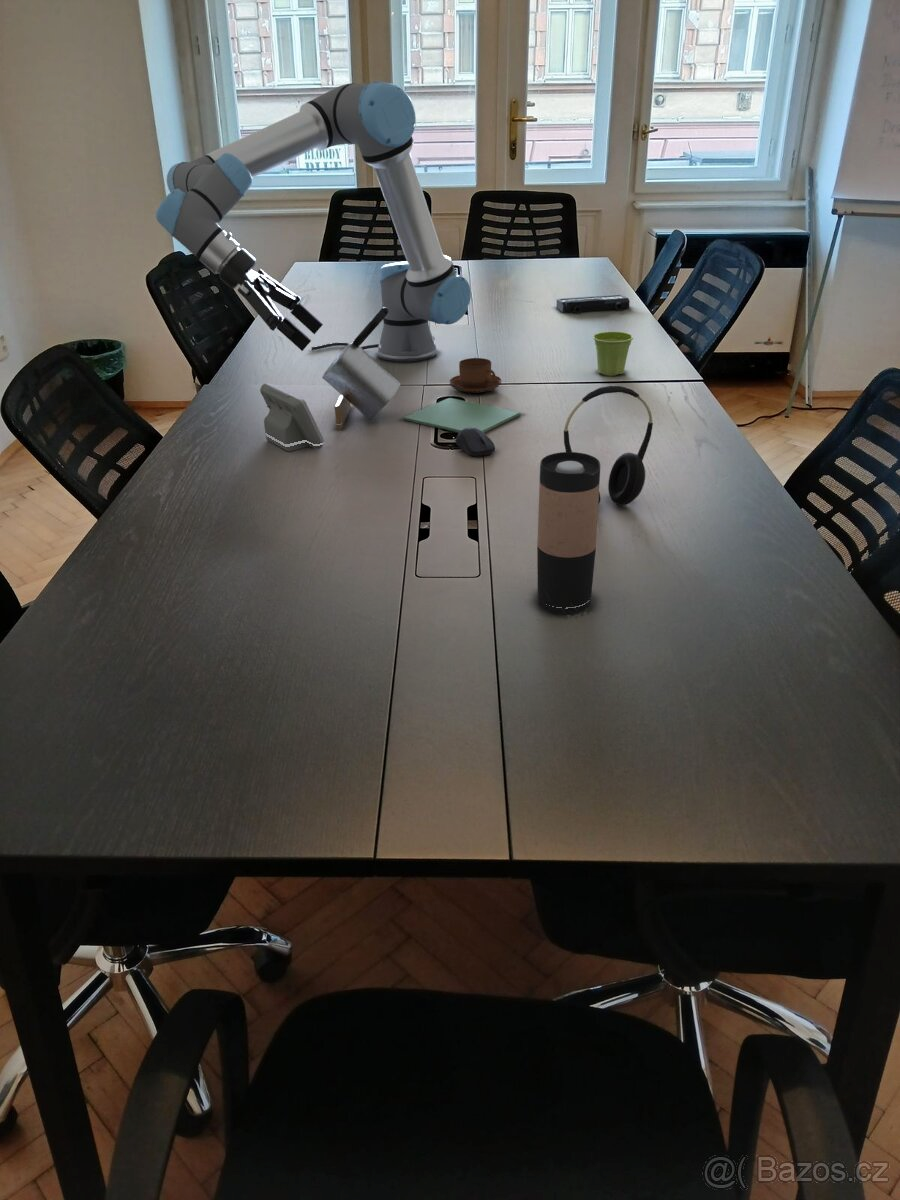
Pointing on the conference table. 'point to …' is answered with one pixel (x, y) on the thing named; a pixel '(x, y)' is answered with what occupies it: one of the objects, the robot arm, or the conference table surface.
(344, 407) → the wooden block
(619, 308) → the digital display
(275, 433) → the digital clock
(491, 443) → the computer mouse
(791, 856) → the conference table surface
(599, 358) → the plant pot
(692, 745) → the conference table surface
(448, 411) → the mat
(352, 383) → the pot
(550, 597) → the travel mug
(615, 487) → the headphones
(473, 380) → the cup and saucer
